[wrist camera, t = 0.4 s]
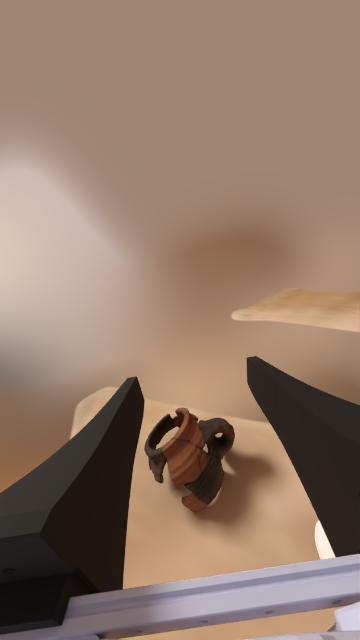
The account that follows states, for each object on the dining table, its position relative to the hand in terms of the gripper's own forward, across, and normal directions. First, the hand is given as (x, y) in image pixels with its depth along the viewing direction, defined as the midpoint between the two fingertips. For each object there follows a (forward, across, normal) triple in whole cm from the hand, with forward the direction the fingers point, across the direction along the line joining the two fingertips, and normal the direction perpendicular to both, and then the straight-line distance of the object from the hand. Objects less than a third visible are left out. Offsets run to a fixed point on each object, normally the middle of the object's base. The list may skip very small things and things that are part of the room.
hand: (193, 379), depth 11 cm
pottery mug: (+7, +1, +19) cm, 20 cm away
